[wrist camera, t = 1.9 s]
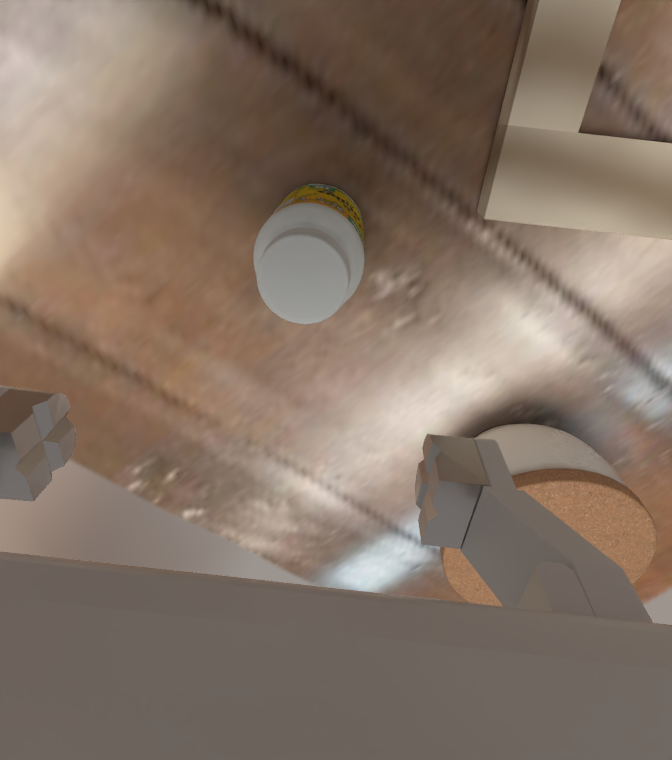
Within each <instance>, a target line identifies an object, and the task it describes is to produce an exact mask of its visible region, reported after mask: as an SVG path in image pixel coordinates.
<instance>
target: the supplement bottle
mask: <svg viewBox="0 0 672 760" xmlns="http://www.w3.org/2000/svg"><path fill="white" fill-rule="evenodd" d="M253 261H254V268H255V272H256V276H257V285H258V289H259V292H260V295H261V297H262V299H263V301H264V302H265V304H266V305H267V306H268V307H269V308H270V309H271V310H272V311H273V312H274V313H275V314H276V315H278V316H279V317H281V318H283V319H285V320H287V321H290V322H293V323H298V324H313V323H317V322H320V321H323V320H325V319H327V318H329V317H330V316H332V315H333V314H334V313H335V312H337V311H338V309H339V308H340V307H341V306H342V304H344V303H345V302H346V301H347V300H348V299H349V298H350V297H351V296H352V295H353V294H354V292H355V291H356V289H357V287H358V286H359V284H360V281H361V279H362V275H363V271H364V265H365V253H364V226H363V220H362V216H361V213H360V211H359V209H358V207H357V205H356V204H355V202H354V201H353V200H352V199H351V198H350V197H349V196H348V195H347V194H346V193H345V192H343V191H342V190H340V189H338V188H336V187H333V186H329V185H324V184H308V185H304V186H301V187H299V188H297V189H295V190H294V191H292V192H291V193H290V194H289V195H288V196H287V197H286V198H285V199H284V200H283V201H282V202H281V204H280V205H279V206H278V207H277V208H276V210H275V211H274V212H273V214H272V215H271V216H270V217H269V218H268V220H267V221H266V222H265V224H264V225H263V226H262V228H261V230H260V231H259V234H258V236H257V239H256V242H255V246H254V253H253Z"/></svg>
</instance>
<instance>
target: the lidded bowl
mask: <svg viewBox="0 0 672 760" xmlns="http://www.w3.org/2000/svg"><path fill="white" fill-rule="evenodd" d="M475 438H482V439H494V440H495V441H496V442H497V443H498V445H499V448H500V450H501V453H502V455H503V458H504V460H505V462H506V465H507V467H508V470H509V472H510V474H511V477H512V479H513V482H514V484H515V487H516V489H517V490H524V491H525V492H526V493H527V494H529V495H530V496H531V497H532V498H534V499H535V500H536V501H538V502H539V503H540V504H541V505H543V506H544V507H545V508H546V509H548V510H549V511H550V512H551V513H553V514H554V515H555V516H557V517H558V518H559V519H560V520H562V521H563V522H564V523H565V524H567V525H568V526H569V527H570V528H572V529H573V530H574V531H575V532H577V533H578V534H579V535H581V536H582V537H583V538H584V539H586V540H587V541H588V542H589V543H591V544H592V545H593V546H594V547H596V548H597V549H598V550H600V551H601V552H602V553H603V554H605V555H606V556H607V557H608V558H610V559H611V560H612V561H613V562H615V563H616V564H617V565H618V566H620V567H621V568H622V569H623V570H624V572H625V574H626V575H627V577H628V579H629V581H630V583H631V584H633V583H635V582H636V581H637V580H638V578H639V577H640V576H641V575H642V574H643V573H644V572H645V570H646V569H647V567H648V565H649V564H650V562H651V560H652V557H653V555H654V553H655V547H656V541H657V535H656V527H655V524H654V521H653V519H652V517H651V515H650V514H649V512H648V511H647V509H646V508H645V506H644V505H643V504H642V502H641V501H640V499H639V498H638V497H637V496H636V495H635V494H634V493H633V492H632V491H631V490H630V489H629V488H628V487H627V485H626V484H625V482H624V481H623V480H622V478H621V477H620V476H619V474H618V473H617V472H616V471H615V469H614V468H613V467H612V466H611V465H610V464H609V463H608V462H607V461H606V460H605V459H604V458H603V457H602V456H601V455H599V454H598V453H597V452H596V451H595V450H594V449H592V448H591V447H590V446H589V445H587V444H586V443H585V442H583V441H581V440H580V439H578V438H576V437H574V436H573V435H571V434H569V433H566V432H564V431H561V430H559V429H556V428H552V427H547V426H543V425H538V424H507V425H501V426H497V427H493V428H491V429H489V430H486V431H484V432H483V433H481V434H479V435H478V436H477V437H475ZM440 552H441V559H442V564H443V569H444V573H445V575H446V577H447V580H448V582H449V583H450V584H451V586H452V587H453V588H454V590H455V591H457V592H458V593H459V594H460V595H461V596H462V597H463V598H464V599H466V600H467V601H469V602H470V603H475V604H484V605H493V606H502V607H504V606H503V605H502V604H501V602H500V601H499V600H498V599H497V597H496V596H495V595H494V593H493V592H492V591H491V590H490V588H489V587H488V586H487V584H486V583H485V582H484V581H483V579H482V578H481V577H480V575H479V574H478V573H477V572H476V570H475V569H474V568H473V566H472V565H471V564H470V563H469V561H468V560H467V559H466V557H465V556H464V555H463V554H462V552H461V549H454V548H447V547H440Z"/></svg>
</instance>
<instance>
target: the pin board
mask: <svg viewBox="0 0 672 760" xmlns="http://www.w3.org/2000/svg"><path fill="white" fill-rule="evenodd" d="M620 2H621V0H528V1H527V5H526V9H525V13H524V18H523V22H522V26H521V30H520V34H519V38H518V42H517V47H516V51H515V55H514V59H513V63H512V67H511V71H510V75H509V80H508V84H507V88H506V92H505V96H504V100H503V104H502V109H501V113H500V117H499V121H498V125H497V129H496V133H495V138H494V142H493V146H492V150H491V154H490V158H489V162H488V166H487V171H486V175H485V179H484V183H483V187H482V191H481V195H480V200H479V204H478V208H477V213H478V214H479V215H480V216H481V217H482V218H484V219H488V220H497V221H506V222H515V223H524V224H533V225H542V226H551V227H560V228H569V229H578V230H587V231H596V232H605V233H614V234H623V235H632V236H641V237H650V238H659V239H668V240H672V143H665V142H656V141H647V140H638V139H629V138H620V137H611V136H602V135H593V134H584V133H578V132H579V129H580V126H581V123H582V119H583V116H584V113H585V110H586V107H587V104H588V101H589V98H590V95H591V92H592V88H593V85H594V82H595V79H596V76H597V73H598V70H599V67H600V64H601V61H602V58H603V54H604V51H605V48H606V45H607V42H608V39H609V36H610V33H611V30H612V27H613V24H614V20H615V17H616V14H617V11H618V8H619V5H620Z"/></svg>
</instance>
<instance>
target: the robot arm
mask: <svg viewBox="0 0 672 760" xmlns="http://www.w3.org/2000/svg"><path fill="white" fill-rule="evenodd" d="M69 411H70V406H69V403H68V399H67V397H66V396H65V395H63V394H62V393H58V392H50V391H42V390H35V389H27V388H20V387H17V388H16V387H11V386H2V385H0V499H12V500H24V501H34V500H35V499H36V498H37V497H38V496H39V494H40V493H41V492H42V491H43V490H44V489H45V488H46V486H47V485H48V484H49V483H50V482H51V481H52V474H51V472H52V471H54V470H56V469H58V468H60V467H62V466H64V465H65V464H66V463H67V462H68V460H69V459H70V458H71V456H72V454H73V451H74V448H75V446H76V431H75V427H74V425H73V424H72V423H71V422H70V421H69V420H68V419H67V418H66V415H67V414H68V412H69ZM423 455H424V460H423V461H421V462H420V463H419V465H418V469H417V474H416V483H415V498H416V505H417V506H418V507H419V508H420V509H421V511H420V515H419V519H418V521H419V528H420V536H421V543H422V544H425V545H432V546H439V547H447V548H454V549H461V552H462V554H463V555H464V556H465V557H466V559H467V560H468V561H469V563H470V564H471V565H472V566H473V568H474V569H475V570H476V572H477V573H478V574H479V575H480V577H481V578H482V579H483V581H484V582H485V583H486V584H487V586H488V587H489V588H490V590H491V591H492V592H493V593H494V595H495V596H496V597H497V599H498V600H499V601H500V602H501V604H502V605H503V606H504V607H502V606H493V605H484V604H475V603H466V602H457V601H447V600H438V599H429V598H419V597H410V596H401V595H391V594H382V593H373V592H363V591H354V590H345V589H336V588H327V587H318V586H310V585H301V584H291V583H283V582H274V581H265V580H256V579H247V578H237V577H228V576H219V575H210V574H201V573H193V572H183V571H174V570H165V569H156V568H147V567H138V566H137V567H136V566H128V565H119V564H110V563H101V562H92V561H82V560H73V559H64V558H55V557H46V556H37V555H28V554H17V553H9V552H0V760H672V625H666V624H657V623H653V622H652V620H651V618H650V616H649V615H648V613H647V611H646V609H645V608H644V606H643V604H642V602H641V600H640V599H639V597H638V595H637V593H636V591H635V590H634V588H633V586H632V584H631V583H630V581H629V579H628V577H627V575H626V574H625V572H624V570H623V569H622V568H621V567H620V566H618V565H617V564H616V563H615V562H613V561H612V560H611V559H610V558H608V557H607V556H606V555H605V554H603V553H602V552H601V551H600V550H598V549H597V548H596V547H594V546H593V545H592V544H591V543H589V542H588V541H587V540H586V539H584V538H583V537H582V536H581V535H579V534H578V533H577V532H575V531H574V530H573V529H572V528H570V527H569V526H568V525H567V524H565V523H564V522H563V521H562V520H560V519H559V518H558V517H557V516H555V515H554V514H553V513H551V512H550V511H549V510H548V509H546V508H545V507H544V506H543V505H541V504H540V503H539V502H538V501H536V500H535V499H534V498H532V497H531V496H530V495H529V494H527V493H526V492H525V491H524V490H517V489H516V487H515V484H514V482H513V479H512V477H511V474H510V472H509V470H508V467H507V465H506V462H505V460H504V458H503V455H502V453H501V450H500V448H499V445H498V443H497V442H496V441H495V440H494V439H482V438H464V437H454V436H444V435H434V434H427V435H426V438H425V440H424V444H423Z"/></svg>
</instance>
